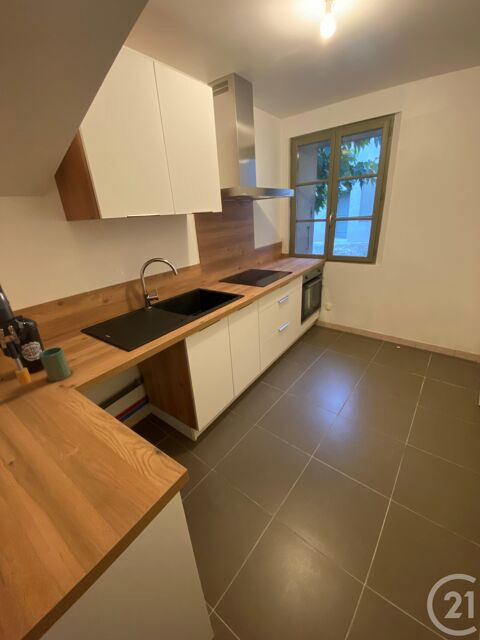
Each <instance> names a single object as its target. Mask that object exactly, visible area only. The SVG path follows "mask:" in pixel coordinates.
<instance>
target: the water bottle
mask: <svg viewBox="0 0 480 640" xmlns="http://www.w3.org/2000/svg"><path fill="white" fill-rule="evenodd" d="M14 317H15V319H16V320H17V321H18V322H26V323H28V324H29V326H28V330H27V334H26V338H25V340H22V341H21V342H20V344H21V346H22V349H23V351H22V353H21V354H19V356H20V357H19V358H18V359H19V361H20V364H21V366H22V368H27V369H28V372H29V374H34V373H38V372H41V371H43V370H44V367H43V364H42V362H41V359H40V357H39V354H40V353H41V352H42V351H44V350H45V346H44V344H43V341H42V338H41V335H40V332H39V330H38V329H39V328H38V323H37V321H36V320H34V319H33V318H29V317H26V316H23V314H19V315H14ZM20 329H21V328H19V325H18V327H17V329H16V332H15V333H16V335H17V336H18V337H19V333H20ZM8 338H9V341H13V340H12V339H11V337H10V336H8Z"/></svg>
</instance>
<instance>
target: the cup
mask: <svg viewBox="0 0 480 640" xmlns="http://www.w3.org/2000/svg"><path fill="white" fill-rule="evenodd" d="M39 357H40V359H41V362H42V364H43V367H44V369H43V370H44V372H45V375H46V378H47V380H48V381H49V382H59V381H62V380H65V379H67V378H68V377H69V376H71V374H72V371H71V367H70V365H69V362H68V360H67V357H66V354H65V351H64V348H63V347H61V346H53V347H50V348H47V349H44V351H42V352H41V353H40V354H39Z"/></svg>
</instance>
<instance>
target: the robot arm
mask: <svg viewBox="0 0 480 640" xmlns="http://www.w3.org/2000/svg"><path fill="white" fill-rule="evenodd" d="M10 303H11V302H10V301H9V299H8V297H7V295H6V294H5V291H4V290H3V286H2V284H1V283H0V349H1V352H2V354H3V356H5V357H6V358H11V357H12V356H11V353H10V351H9V348H8V347H7V346H6V342H7V341H6V338H7V337H9V336H10V337H11V339H12V340H13V341H14V343H15V346H16V348H17V351H18V353H19V354H21V353H22V351H23V349H22V346H21V344H20V342H21V341H22V340H25V338H26V334H27V330H28V326H29V324H28V323H26V322H18V321H17V320H16V319H15V317H14V316H15V314H14V310H13V309H12V307H11V304H10ZM18 325H19V328H21V329H20V333H19V337H18V336H17V335H16V333H15V332H16V329H17V327H18Z"/></svg>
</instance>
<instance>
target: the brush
mask: <svg viewBox="0 0 480 640" xmlns="http://www.w3.org/2000/svg"><path fill="white" fill-rule="evenodd" d="M5 342H6V346H7V347H8V348H9V351H10V353H11V356H12V357H10V358H11V360H14V362H15V365H16V367H17V369H16V370H15V371H14V373H15V376H16V378H17V380H18V383H19V385H21V386H24V385H28V384H29V383H32V381H33V379H32V377H31V373H29V372H28V369H27V368H23V366H22V364H21V362H20V360H19V357H20V356H19V353H18V351H17V348H16V346H15V343H14V341H10V340H7V341H5Z"/></svg>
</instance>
